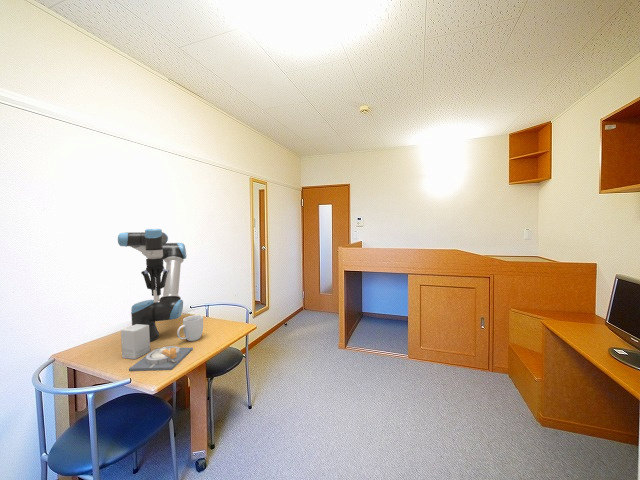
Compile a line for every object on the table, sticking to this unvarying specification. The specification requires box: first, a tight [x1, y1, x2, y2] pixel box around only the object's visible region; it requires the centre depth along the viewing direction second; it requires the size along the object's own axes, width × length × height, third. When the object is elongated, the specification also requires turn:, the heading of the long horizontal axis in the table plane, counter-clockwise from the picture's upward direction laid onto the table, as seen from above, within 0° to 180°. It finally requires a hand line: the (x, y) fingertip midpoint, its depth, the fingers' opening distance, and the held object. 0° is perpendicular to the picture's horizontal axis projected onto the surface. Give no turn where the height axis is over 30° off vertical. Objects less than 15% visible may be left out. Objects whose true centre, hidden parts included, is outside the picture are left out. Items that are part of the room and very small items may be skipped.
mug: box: [176, 314, 204, 342], centre depth 147 cm, size 15×11×13 cm
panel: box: [128, 345, 194, 372], centre depth 125 cm, size 20×20×4 cm
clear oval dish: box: [151, 347, 176, 359], centre depth 123 cm, size 16×10×6 cm, turn 58°
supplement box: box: [120, 324, 151, 360], centre depth 130 cm, size 9×9×15 cm
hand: (156, 301), depth 130 cm, fingers closed
